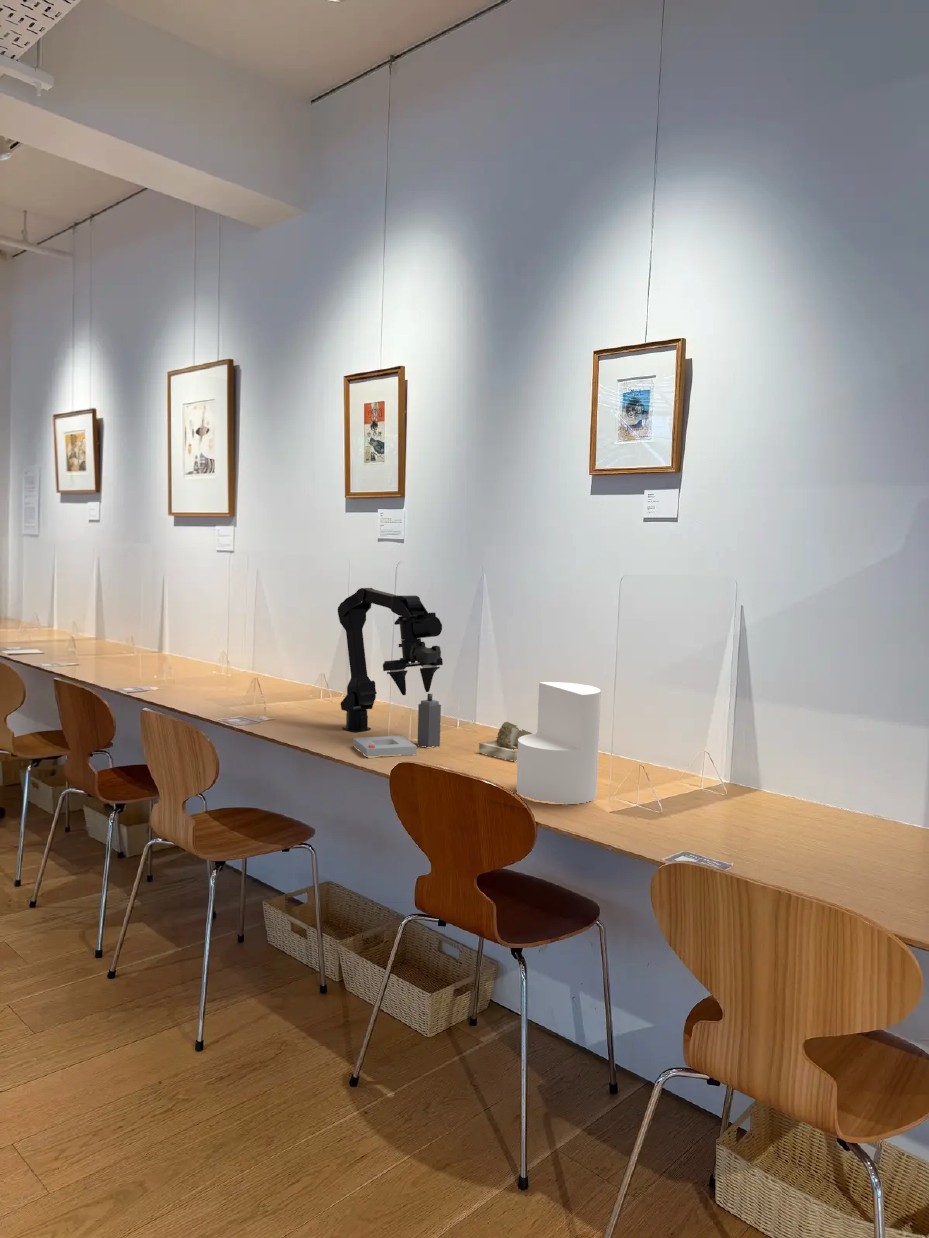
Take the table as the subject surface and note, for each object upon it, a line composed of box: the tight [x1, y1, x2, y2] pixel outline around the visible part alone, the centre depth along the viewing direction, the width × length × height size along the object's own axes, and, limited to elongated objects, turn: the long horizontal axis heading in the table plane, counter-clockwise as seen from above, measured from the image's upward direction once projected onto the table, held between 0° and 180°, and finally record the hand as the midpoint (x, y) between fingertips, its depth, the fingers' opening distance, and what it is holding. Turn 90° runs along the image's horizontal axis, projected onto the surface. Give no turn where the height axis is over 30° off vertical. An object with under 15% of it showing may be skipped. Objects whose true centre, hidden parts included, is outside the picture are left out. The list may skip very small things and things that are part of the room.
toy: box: [496, 721, 534, 749], centre depth 254 cm, size 7×7×15 cm
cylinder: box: [516, 681, 602, 805], centre depth 212 cm, size 19×19×25 cm
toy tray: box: [478, 739, 518, 761], centre depth 254 cm, size 13×21×3 cm, turn 136°
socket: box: [352, 735, 418, 756], centre depth 251 cm, size 14×14×3 cm
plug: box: [417, 693, 442, 747], centre depth 258 cm, size 4×4×15 cm
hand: (416, 693), depth 259 cm, fingers open, 9 cm apart
